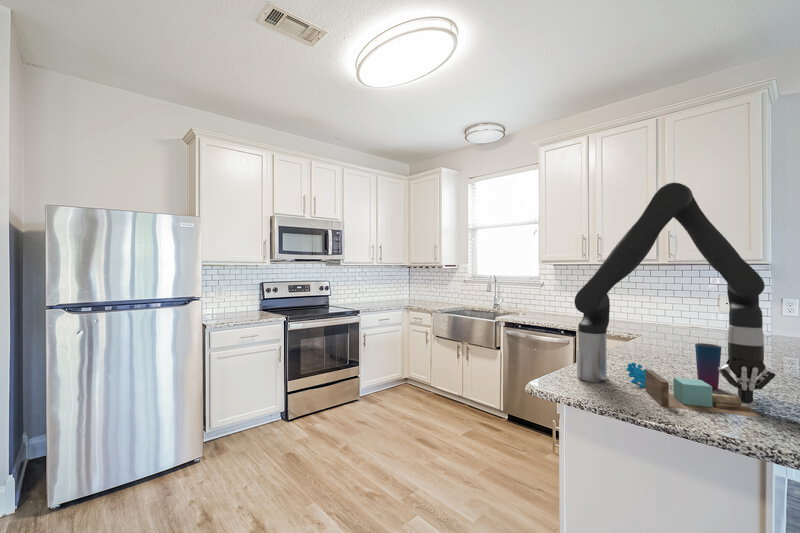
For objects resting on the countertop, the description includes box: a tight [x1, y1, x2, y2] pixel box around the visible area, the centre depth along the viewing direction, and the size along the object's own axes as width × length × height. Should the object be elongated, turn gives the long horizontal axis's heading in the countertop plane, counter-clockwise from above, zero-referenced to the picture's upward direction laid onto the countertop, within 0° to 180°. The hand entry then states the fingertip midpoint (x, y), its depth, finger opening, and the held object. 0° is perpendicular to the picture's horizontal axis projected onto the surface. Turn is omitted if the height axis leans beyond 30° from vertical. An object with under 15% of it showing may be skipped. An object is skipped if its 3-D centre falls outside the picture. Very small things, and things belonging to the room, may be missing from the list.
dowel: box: [712, 393, 743, 406], centre depth 107 cm, size 8×3×3 cm, turn 71°
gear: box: [625, 362, 648, 389], centre depth 127 cm, size 11×6×10 cm
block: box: [672, 377, 713, 407], centre depth 109 cm, size 7×7×6 cm
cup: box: [694, 342, 722, 391], centre depth 123 cm, size 7×7×15 cm
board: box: [644, 369, 762, 418], centre depth 108 cm, size 23×14×8 cm, turn 72°
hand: (745, 402), depth 105 cm, fingers closed
